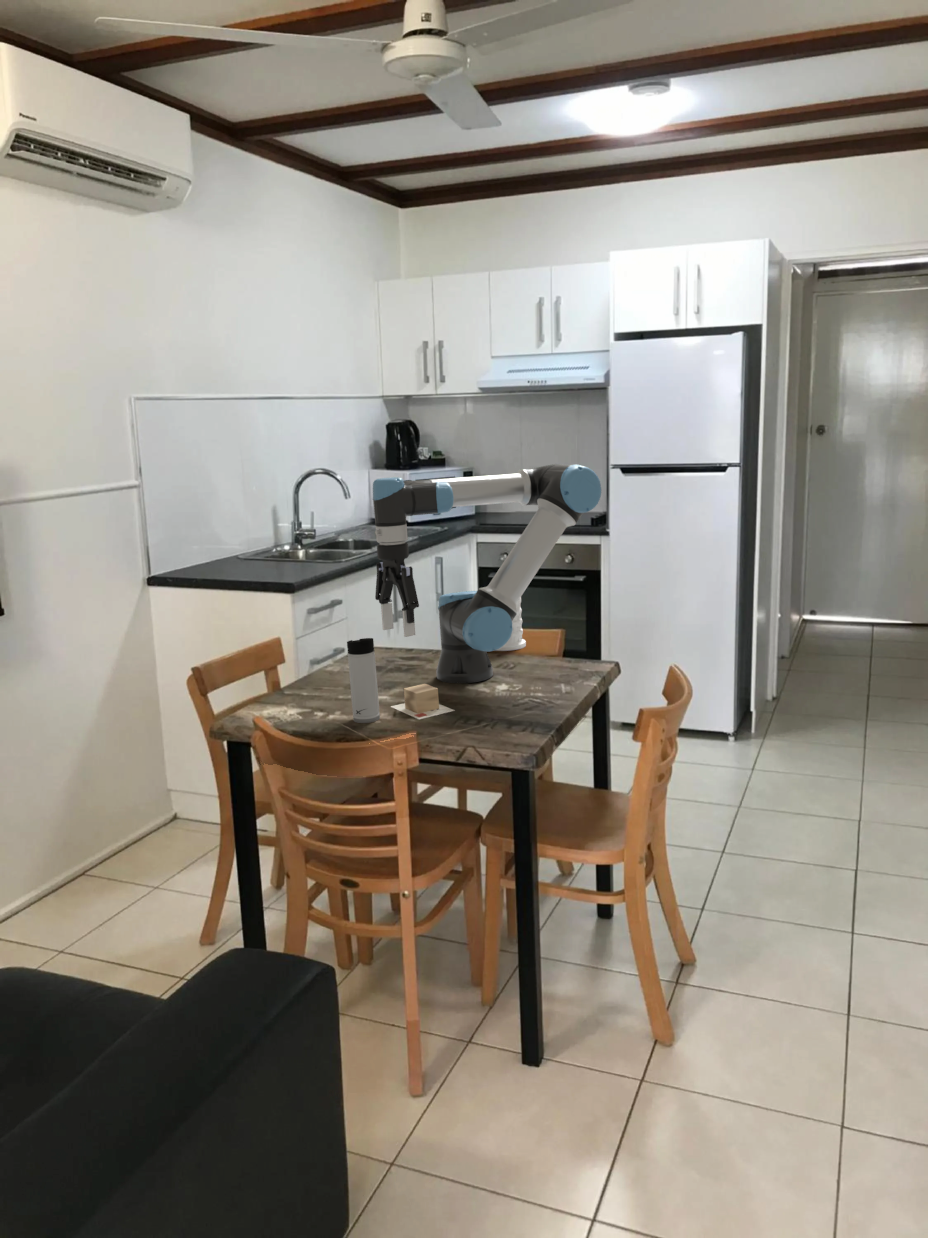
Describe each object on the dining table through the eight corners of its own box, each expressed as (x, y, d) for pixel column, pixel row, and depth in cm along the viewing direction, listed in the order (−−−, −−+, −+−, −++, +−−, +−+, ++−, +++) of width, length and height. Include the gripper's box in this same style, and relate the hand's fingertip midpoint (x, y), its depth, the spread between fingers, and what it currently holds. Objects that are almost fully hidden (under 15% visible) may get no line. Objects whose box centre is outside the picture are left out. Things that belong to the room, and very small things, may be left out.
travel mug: (359, 726, 232) (352, 642, 227) (349, 719, 237) (342, 637, 233) (384, 721, 234) (378, 638, 230) (373, 714, 240) (367, 633, 236)
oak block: (405, 708, 242) (403, 688, 241) (426, 703, 245) (425, 683, 244) (417, 713, 237) (416, 693, 236) (439, 708, 241) (437, 688, 239)
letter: (390, 707, 245) (390, 706, 245) (425, 699, 250) (425, 698, 250) (419, 720, 233) (419, 719, 233) (455, 711, 238) (455, 710, 238)
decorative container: (491, 652, 294) (488, 592, 290) (484, 643, 305) (481, 585, 301) (529, 648, 295) (526, 588, 292) (521, 640, 307) (518, 582, 303)
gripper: (356, 540, 248) (363, 628, 253) (401, 548, 229) (408, 642, 234) (383, 537, 252) (389, 623, 257) (429, 544, 233) (435, 637, 238)
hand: (398, 632), depth 245 cm, fingers open, 10 cm apart
